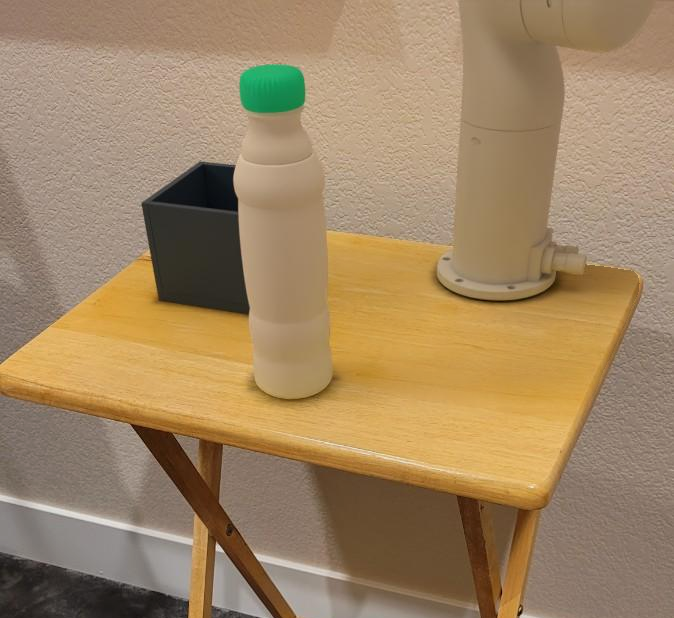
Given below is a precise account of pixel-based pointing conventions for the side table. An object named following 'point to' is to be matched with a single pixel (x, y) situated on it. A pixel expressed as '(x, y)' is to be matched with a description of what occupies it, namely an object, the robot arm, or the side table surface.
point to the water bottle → (283, 236)
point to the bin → (197, 239)
